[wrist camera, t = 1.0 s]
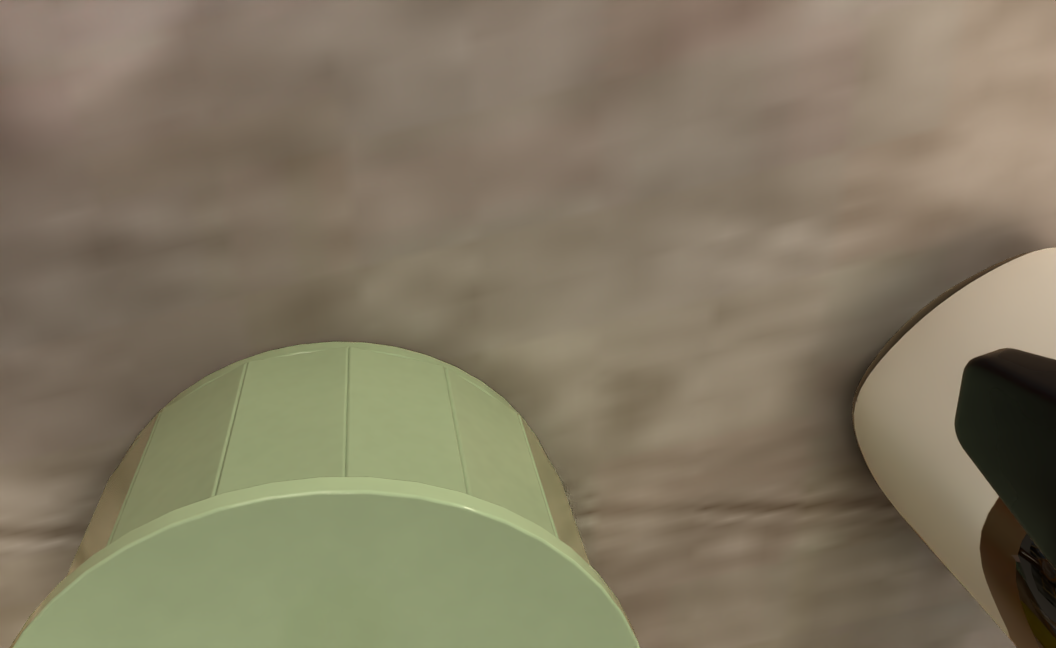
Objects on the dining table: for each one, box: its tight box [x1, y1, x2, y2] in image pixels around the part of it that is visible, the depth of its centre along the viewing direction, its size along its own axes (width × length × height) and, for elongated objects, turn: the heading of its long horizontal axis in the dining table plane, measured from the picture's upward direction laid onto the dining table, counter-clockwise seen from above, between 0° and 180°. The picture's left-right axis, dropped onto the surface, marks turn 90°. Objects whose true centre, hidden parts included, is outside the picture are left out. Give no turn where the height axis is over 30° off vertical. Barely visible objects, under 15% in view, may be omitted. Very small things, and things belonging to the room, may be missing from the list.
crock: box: [66, 342, 590, 577], centre depth 21 cm, size 12×12×6 cm
